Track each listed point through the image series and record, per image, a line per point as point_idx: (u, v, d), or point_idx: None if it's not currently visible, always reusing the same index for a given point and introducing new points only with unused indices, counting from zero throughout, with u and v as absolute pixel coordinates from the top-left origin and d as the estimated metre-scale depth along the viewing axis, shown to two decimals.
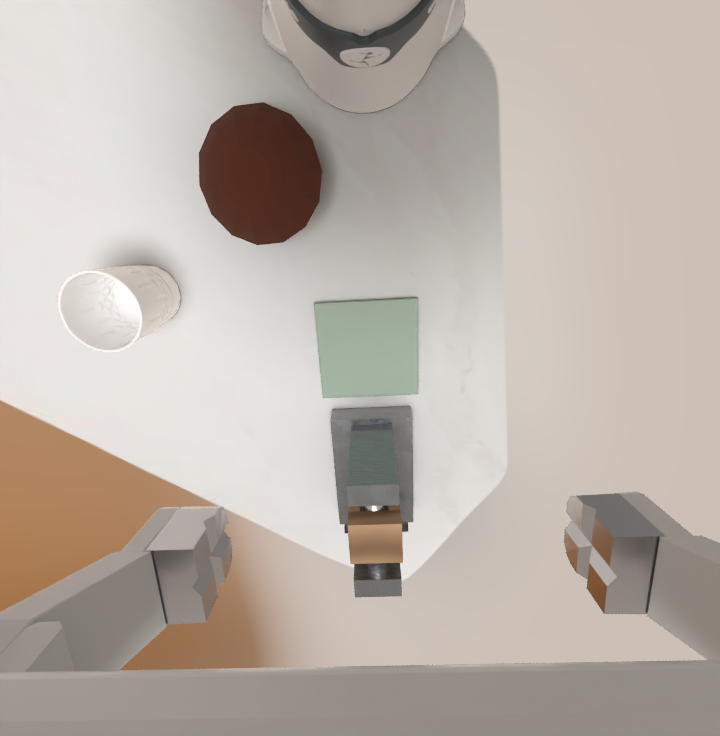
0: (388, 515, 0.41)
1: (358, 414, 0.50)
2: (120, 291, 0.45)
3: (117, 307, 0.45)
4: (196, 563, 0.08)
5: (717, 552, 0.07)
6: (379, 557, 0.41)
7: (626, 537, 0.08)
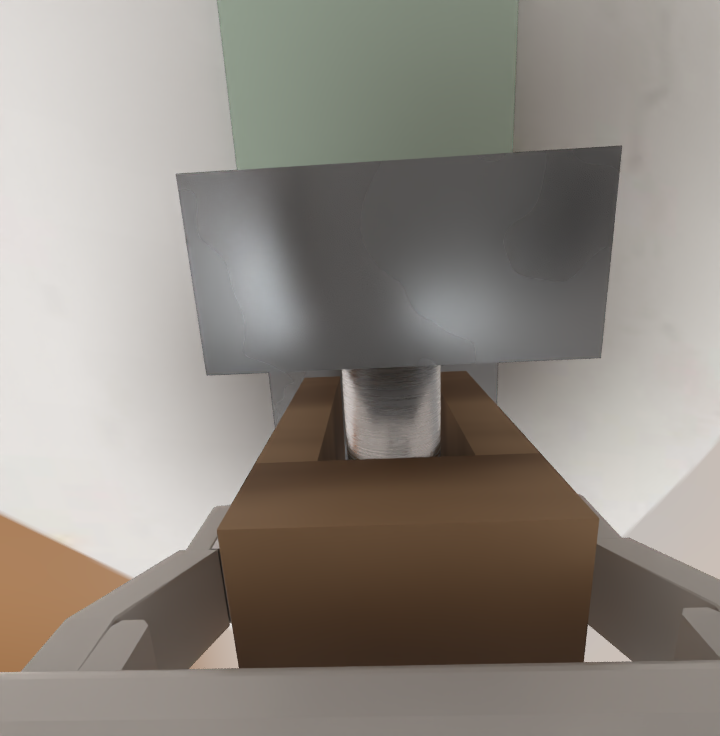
0: (482, 475, 0.07)
1: None
2: None
3: None
4: None
5: (640, 554, 0.07)
6: None
7: None
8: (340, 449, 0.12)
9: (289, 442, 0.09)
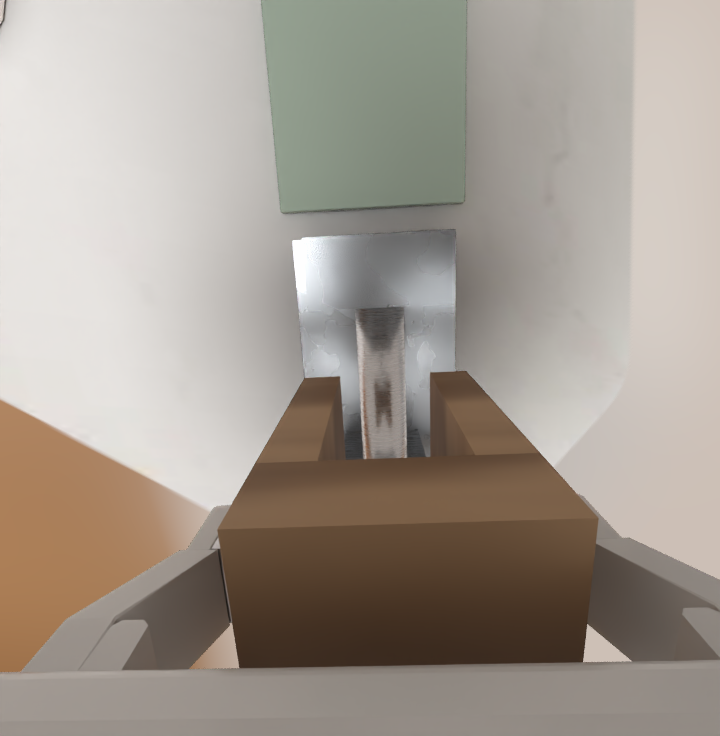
0: (482, 475, 0.07)
1: None
2: None
3: None
4: None
5: (640, 554, 0.07)
6: None
7: None
8: (340, 449, 0.13)
9: (289, 442, 0.09)
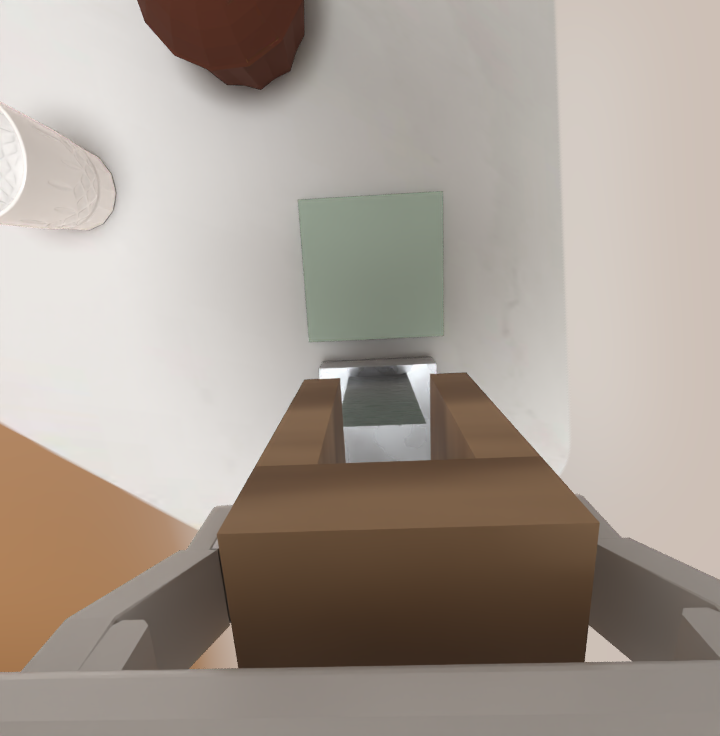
0: (483, 479, 0.07)
1: (359, 364, 0.35)
2: None
3: None
4: None
5: (640, 554, 0.07)
6: None
7: None
8: (340, 451, 0.12)
9: (289, 445, 0.09)
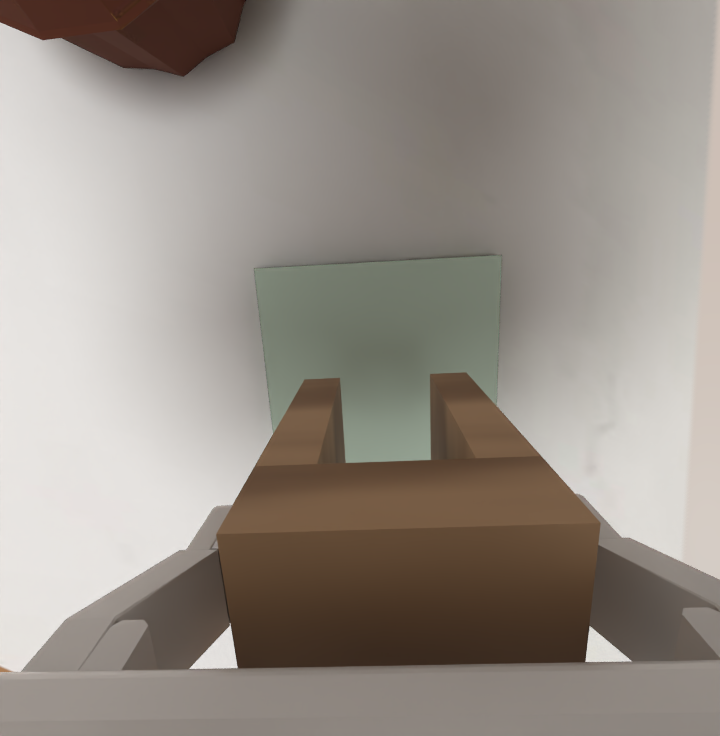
0: (483, 479, 0.07)
1: None
2: None
3: None
4: None
5: (640, 554, 0.07)
6: None
7: None
8: (340, 451, 0.12)
9: (289, 445, 0.09)
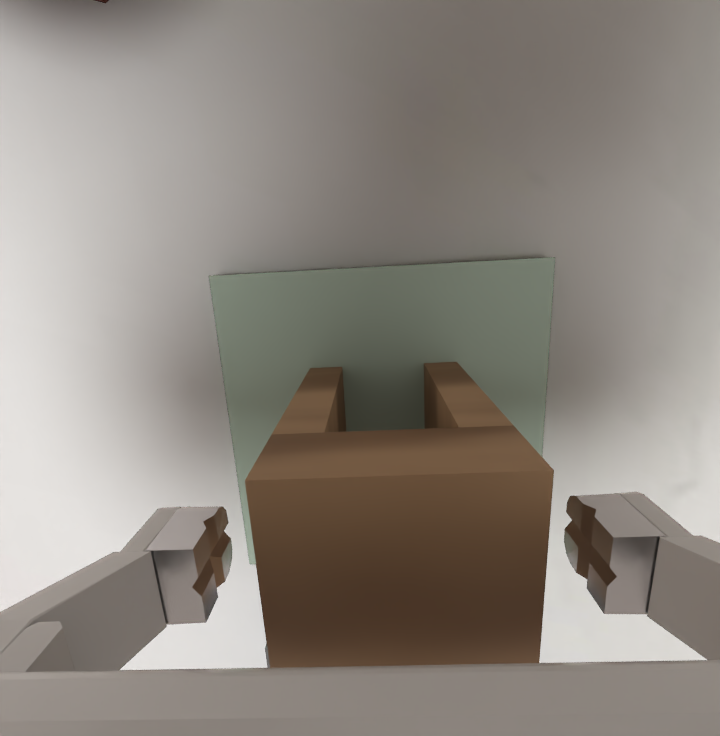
0: (463, 441, 0.08)
1: None
2: None
3: None
4: (196, 563, 0.08)
5: (717, 552, 0.07)
6: None
7: (626, 537, 0.08)
8: (342, 432, 0.14)
9: (299, 418, 0.10)
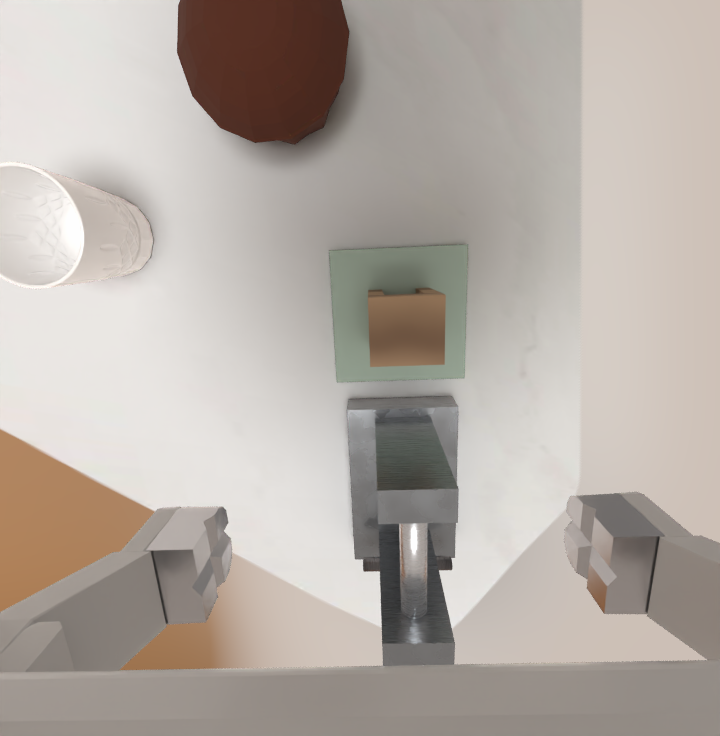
0: (424, 294, 0.29)
1: (384, 404, 0.37)
2: (71, 226, 0.34)
3: (65, 247, 0.34)
4: (196, 563, 0.08)
5: (717, 553, 0.07)
6: (411, 355, 0.29)
7: (626, 537, 0.08)
8: None
9: (374, 294, 0.31)
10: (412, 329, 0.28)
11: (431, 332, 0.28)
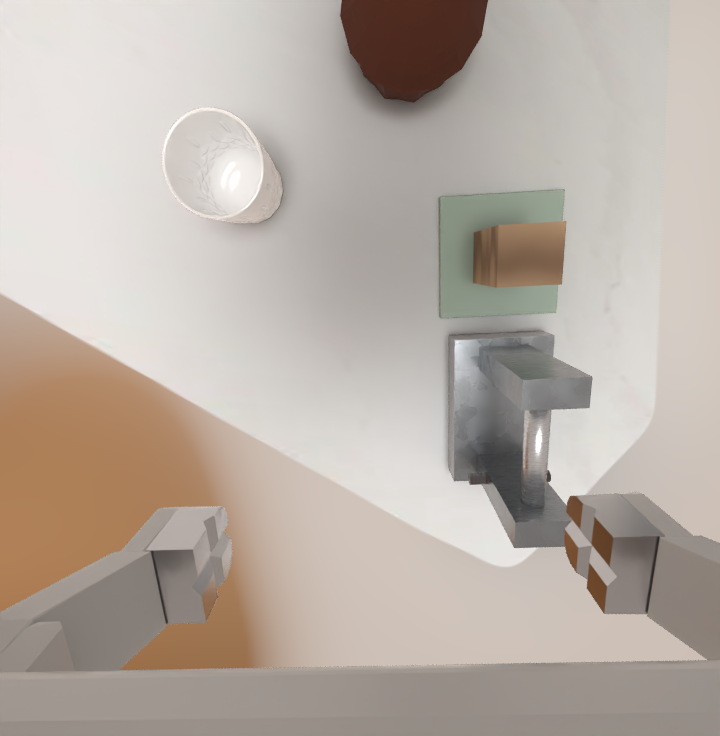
0: None
1: (485, 336, 0.42)
2: (217, 177, 0.38)
3: (212, 195, 0.38)
4: (196, 563, 0.08)
5: (717, 552, 0.07)
6: (533, 276, 0.33)
7: (626, 537, 0.08)
8: None
9: None
10: (535, 252, 0.33)
11: (551, 255, 0.33)
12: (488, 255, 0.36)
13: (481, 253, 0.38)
